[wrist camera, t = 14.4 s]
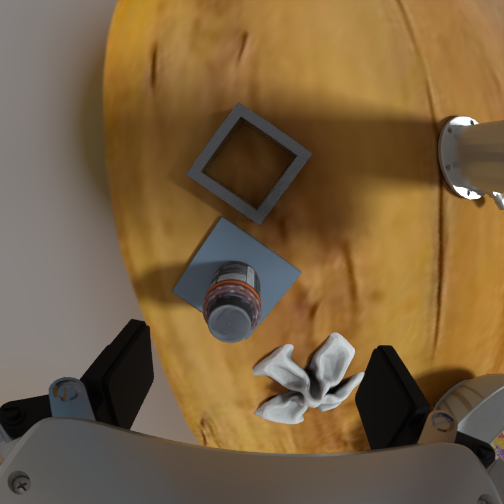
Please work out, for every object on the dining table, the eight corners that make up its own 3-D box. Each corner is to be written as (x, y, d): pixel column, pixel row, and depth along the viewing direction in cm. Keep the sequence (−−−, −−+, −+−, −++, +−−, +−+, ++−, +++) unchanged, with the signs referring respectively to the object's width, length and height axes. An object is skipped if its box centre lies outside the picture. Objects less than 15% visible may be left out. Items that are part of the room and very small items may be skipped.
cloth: (261, 428, 45) (262, 453, 39) (232, 351, 40) (228, 377, 34) (380, 398, 43) (391, 420, 37) (379, 314, 38) (396, 334, 33)
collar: (307, 155, 33) (312, 153, 30) (259, 221, 35) (259, 225, 32) (239, 108, 31) (238, 102, 28) (191, 174, 33) (186, 174, 30)
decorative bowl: (418, 371, 41) (448, 414, 29) (509, 335, 40) (541, 361, 28) (392, 453, 48) (407, 490, 36) (476, 418, 46) (496, 445, 35)
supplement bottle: (254, 307, 37) (254, 358, 26) (209, 298, 37) (192, 345, 26) (265, 264, 35) (269, 303, 25) (217, 254, 35) (201, 289, 24)
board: (300, 271, 36) (301, 272, 36) (246, 337, 39) (246, 339, 38) (222, 216, 35) (222, 216, 34) (173, 290, 37) (171, 291, 37)
